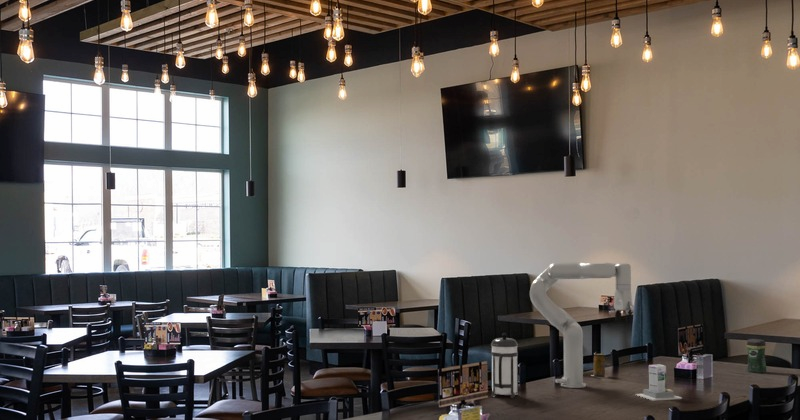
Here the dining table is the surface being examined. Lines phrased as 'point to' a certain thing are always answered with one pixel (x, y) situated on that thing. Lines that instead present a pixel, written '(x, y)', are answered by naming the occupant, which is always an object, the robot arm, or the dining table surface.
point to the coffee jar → (756, 355)
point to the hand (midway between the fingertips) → (623, 321)
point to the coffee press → (504, 366)
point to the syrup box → (657, 378)
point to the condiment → (599, 366)
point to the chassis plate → (658, 395)
